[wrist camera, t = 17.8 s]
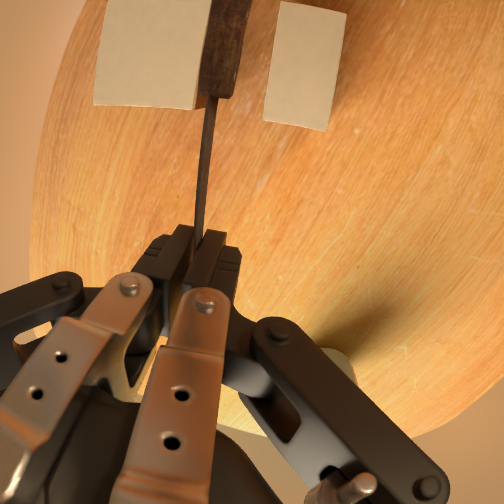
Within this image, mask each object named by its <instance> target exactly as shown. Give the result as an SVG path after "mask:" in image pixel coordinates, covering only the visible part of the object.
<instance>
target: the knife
mask: <svg viewBox="0 0 504 504" xmlns="http://www.w3.org/2000/svg"><path fill="white" fill-rule="evenodd" d="M251 3H252V0H212V1H211V7H210V13H209V20H208V26H207V32H206V38H205V42H204V47H203V52H202V57H201V64H200V71H199V79H198V89H197V92H198V94H199V95H201V96H206V97H207V102H206V109H205V117H204V125H203V132H202V141H201V149H200V158H199V168H198V179H197V190H196V203H195V220H194V242H193V258H194V256H195V253H196V251H197V249H198V247H199V245H200V243H201V241H202V237H203V225H204V214H205V204H206V194H207V184H208V175H209V166H210V158H211V149H212V141H213V133H214V126H215V118H216V111H217V104H218V98H225V99H229V98H230V97H231V96H232V95H233V91H234V86H235V82H236V77H237V72H238V67H239V62H240V57H241V51H242V44H243V38H244V33H245V29H246V25H247V20H248V16H249V12H250V8H251Z"/></svg>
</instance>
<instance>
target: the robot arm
mask: <svg viewBox="0 0 504 504" xmlns="http://www.w3.org/2000/svg"><path fill="white" fill-rule="evenodd" d="M226 236H227V232H222V231H216V230H211V229H207V230H206V233H205V235H204V237H203V239H202V241H201V243H200V245H199V247H198V249H197V251H196V253H195V256H194V258H193V242H194V227H193V226H188V225H182V224H179V225H178V226H177V228H176V229H175V231H174V232H173V234H172V235H165V234H163V235H161V236H159V237H158V238H156V239H154V240H153V241H152V243H151V244H150V245H149V247H148V248H147V249H146V251H145V252H144V254H143V255H142V256H141V258H140V259H139V260H138V262H137V263H136V265H135V266H134V267H133V269H132V270H131V272H127V273H121V274H118V275H116V276H114V277H113V278H112V279H111V280H110V281H109V282H108V283H107V284H106V285H105V287H101V288H98V287H84V286H83V281H82V278H81V277H80V276H79V275H78V274H76V273H73V272H68V271H64V272H58V273H54V274H52V275H49V276H46V277H44V278H41V279H38V280H35V281H33V282H30V283H28V284H25V285H22V286H20V287H17V288H15V289H12V290H9V291H7V292H4V293H2V294H0V504H283V503H282V502H281V501H280V499H279V498H278V497H277V496H276V494H275V493H274V491H273V490H272V489H271V487H270V486H269V485H268V483H267V482H266V481H265V479H264V478H263V477H262V475H261V474H260V473H259V471H258V470H257V468H256V467H255V465H254V464H253V463H252V461H251V460H250V458H249V457H248V456H247V454H246V453H245V452H244V451H243V450H242V449H241V448H240V446H239V445H238V444H236V443H235V442H234V441H233V440H232V439H231V438H229V437H228V436H226V435H225V434H224V433H222V432H220V431H219V430H217V429H216V425H217V417H218V408H219V400H220V391H221V383H222V384H224V385H226V386H228V387H230V388H232V389H234V390H236V391H238V394H239V397H240V399H241V401H242V402H243V404H244V405H245V406H246V408H247V409H248V411H249V412H250V413H251V415H252V416H253V417H254V419H255V420H256V422H257V423H258V424H259V426H260V427H261V428H262V430H263V431H264V432H265V434H266V435H267V436H268V438H269V439H270V440H271V442H272V443H273V444H274V446H275V447H276V448H277V449H278V451H279V452H280V453H281V455H282V456H283V457H284V458H285V460H286V461H287V462H288V463H289V465H290V466H291V467H292V468H293V470H294V471H295V472H296V473H297V475H298V476H299V477H300V478H301V479H302V481H303V482H304V483H305V484H306V485H307V486H308V488H309V489H310V491H309V492H308V494H307V495H306V497H305V500H304V504H446V503H447V501H448V499H449V495H450V483H449V480H448V477H447V475H446V474H445V472H444V471H443V470H442V469H441V468H440V467H439V466H438V465H437V464H436V463H434V461H432V460H431V459H430V458H429V457H428V456H427V455H426V454H425V453H424V452H423V451H422V450H421V449H420V448H419V447H418V446H417V445H416V444H415V443H414V442H413V441H412V440H411V439H410V438H409V437H408V436H407V435H406V434H405V433H404V432H403V431H402V430H401V429H400V428H399V427H398V426H397V425H396V424H395V423H394V422H393V421H392V420H391V419H390V418H389V417H388V416H387V415H386V414H385V413H384V412H383V411H382V410H381V409H380V408H379V407H378V406H377V405H376V404H375V403H374V402H373V401H372V400H371V399H370V398H369V397H368V396H367V395H366V394H365V393H364V392H363V391H362V390H361V389H360V388H359V387H358V386H357V385H356V384H355V383H354V382H353V381H352V380H351V379H350V378H349V377H348V376H347V375H346V374H345V373H344V372H343V371H342V370H341V369H340V368H339V367H338V366H337V365H336V364H335V363H334V362H333V361H332V360H331V359H330V358H329V357H328V356H327V355H326V354H325V353H324V352H323V351H322V350H321V349H320V348H319V347H318V346H317V345H316V344H315V343H314V342H313V341H312V340H311V338H310V337H309V336H308V335H307V334H306V333H305V332H304V331H303V330H302V329H301V328H300V327H299V326H298V325H297V324H295V323H294V322H292V321H290V320H288V319H285V318H282V317H266V318H263V319H261V320H259V321H258V322H257V323H256V322H253V321H251V320H249V319H247V318H245V317H244V316H242V315H241V314H240V313H239V312H238V311H237V310H236V309H235V307H234V305H233V303H234V298H235V293H236V288H237V282H238V276H239V270H240V264H241V259H242V255H241V253H240V251H239V249H238V248H237V247H232V246H226V245H225V244H226ZM49 321H50V322H51V325H52V329H51V330H50V331H49V333H48V334H47V335H45V336H43V337H40V338H38V339H36V340H34V341H31V342H29V343H27V344H24V345H19V344H17V343H16V342H15V341H14V338H15V336H17V335H18V334H20V333H22V332H25V331H27V330H29V329H32V328H34V327H37V326H39V325H41V324H44V323H46V322H49ZM160 335H161V336H165V337H168V340H167V343H166V346H165V345H161V346H160V347H159V349H158V351H157V354H156V343H157V341H158V339H159V336H160ZM155 354H156V357H155V360H154V363H153V366H152V369H151V373H150V376H149V379H148V382H147V385H146V388H145V392H144V395H143V399H142V401H141V403H135V398H136V395H137V392H138V390H139V388H140V386H141V384H142V382H143V379H144V377H145V375H146V373H147V371H148V369H149V367H150V364H151V362H152V360H153V358H154V356H155Z"/></svg>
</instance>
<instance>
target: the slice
mask: <svg viewBox="0 0 504 504" xmlns="http://www.w3.org/2000/svg"><path fill="white" fill-rule="evenodd" d="M346 18H347V14H345V13H341V12H337V11H333V10H329V9H324V8H320V7H315V6H310V5H304V4H299V3H292V2H286V1H281V2H280V8H279V14H278V20H277V26H276V32H275V38H274V45H273V51H272V57H271V63H270V70H269V76H268V83H267V89H266V95H265V102H264V108H263V115H262V120H265V121H272V122H278V123H284V124H289V125H295V126H300V127H305V128H310V129H315V130H320V131H325V132H327V128H328V123H329V118H330V113H331V108H332V102H333V97H334V91H335V86H336V80H337V74H338V69H339V63H340V57H341V50H342V44H343V38H344V31H345V24H346Z"/></svg>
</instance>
